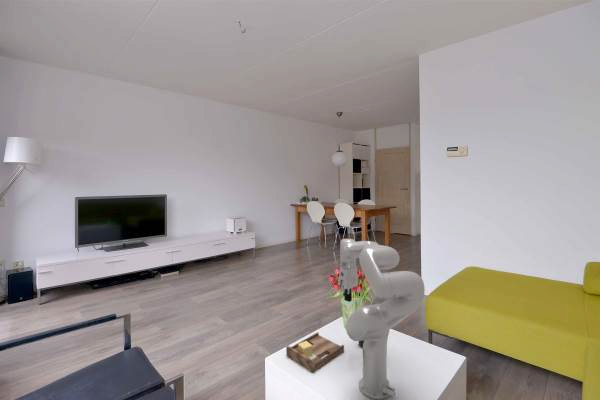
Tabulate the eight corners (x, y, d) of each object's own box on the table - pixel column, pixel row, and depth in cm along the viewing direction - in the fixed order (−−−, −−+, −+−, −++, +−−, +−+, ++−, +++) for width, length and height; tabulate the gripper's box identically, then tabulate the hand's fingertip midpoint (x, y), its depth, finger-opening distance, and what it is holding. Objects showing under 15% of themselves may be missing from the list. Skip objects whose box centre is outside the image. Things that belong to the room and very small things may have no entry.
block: (312, 355, 135) (312, 345, 135) (303, 359, 132) (303, 348, 132) (306, 350, 139) (306, 340, 139) (298, 353, 137) (298, 343, 136)
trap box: (343, 351, 142) (343, 342, 141) (313, 373, 126) (313, 362, 125) (317, 338, 154) (317, 329, 154) (286, 355, 138) (286, 346, 138)
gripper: (345, 269, 130) (345, 307, 131) (363, 262, 140) (362, 298, 141) (332, 265, 135) (332, 303, 136) (350, 259, 145) (350, 294, 146)
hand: (348, 300), depth 138 cm, fingers closed
